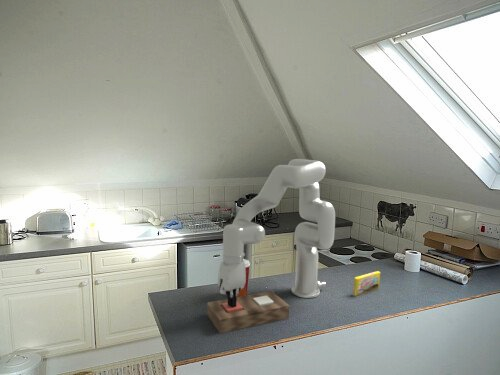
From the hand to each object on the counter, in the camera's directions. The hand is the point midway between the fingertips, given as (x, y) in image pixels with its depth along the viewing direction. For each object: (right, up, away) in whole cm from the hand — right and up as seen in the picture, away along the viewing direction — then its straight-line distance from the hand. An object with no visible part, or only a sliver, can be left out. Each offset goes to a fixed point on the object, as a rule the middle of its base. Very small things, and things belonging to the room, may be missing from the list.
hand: (231, 305), depth 135 cm
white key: (+12, -3, +6) cm, 14 cm away
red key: (0, -3, +1) cm, 3 cm away
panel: (+6, -5, +4) cm, 9 cm away
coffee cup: (+2, -3, +23) cm, 23 cm away
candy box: (+59, -3, +29) cm, 66 cm away
